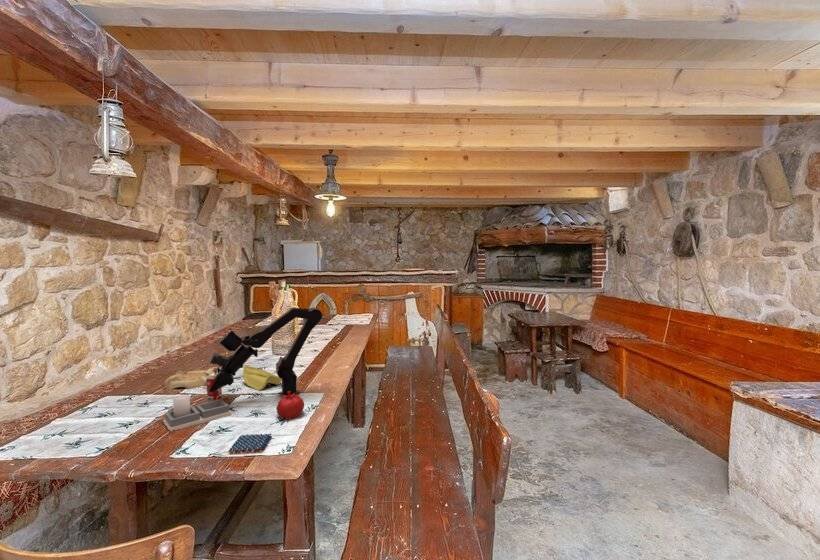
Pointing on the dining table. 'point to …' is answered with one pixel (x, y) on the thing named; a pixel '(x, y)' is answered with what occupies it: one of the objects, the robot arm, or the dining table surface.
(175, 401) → the compartment tray
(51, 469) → the dining table surface
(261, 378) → the plastic component
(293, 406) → the pomegranate
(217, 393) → the soda can
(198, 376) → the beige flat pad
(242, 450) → the woven mat
